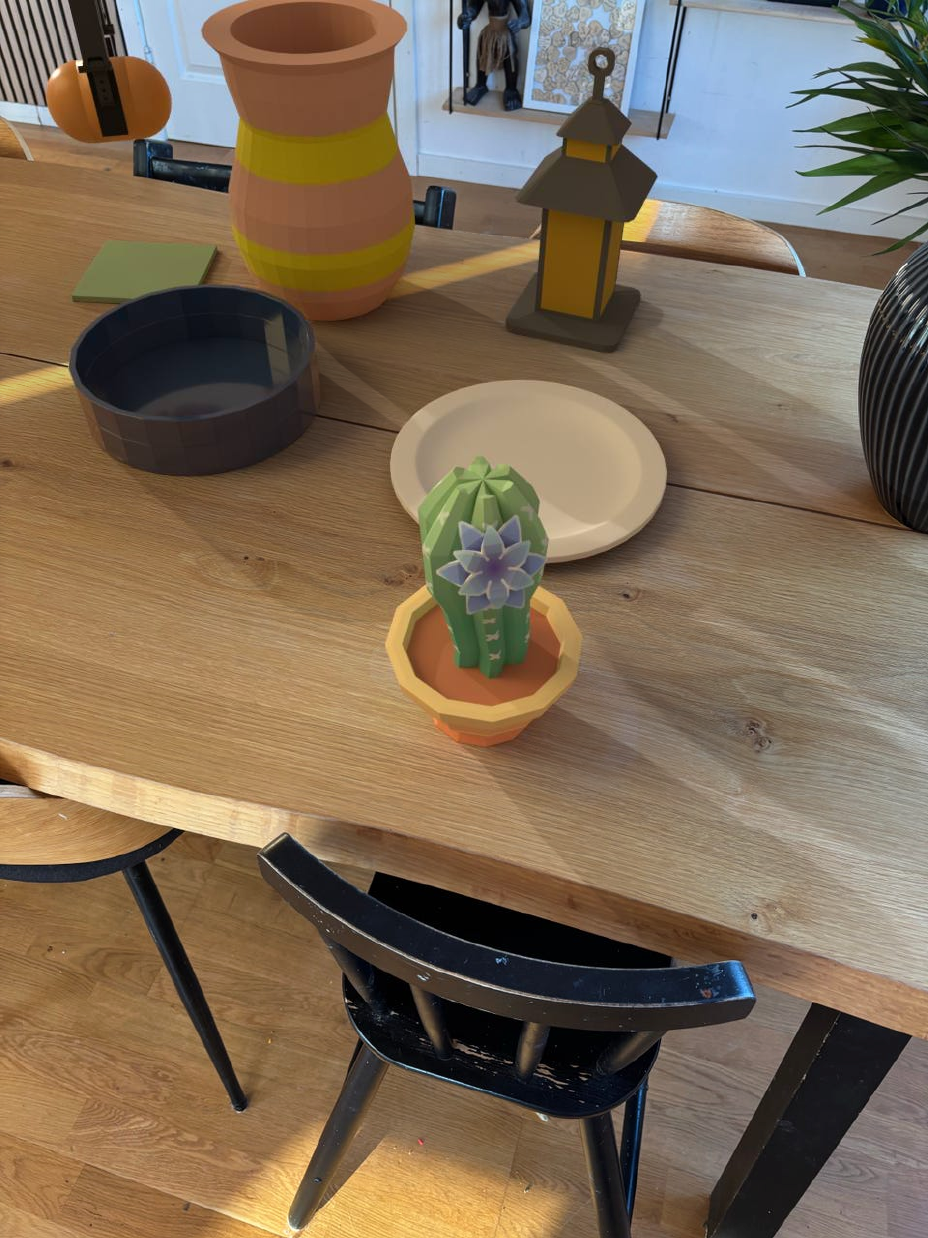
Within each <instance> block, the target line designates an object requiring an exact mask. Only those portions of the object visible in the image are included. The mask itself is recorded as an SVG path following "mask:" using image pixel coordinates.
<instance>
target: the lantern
mask: <svg viewBox="0 0 928 1238" xmlns="http://www.w3.org/2000/svg"><path fill="white" fill-rule="evenodd" d="M598 56H603V58H604V57H605V59H606V62H607V66H606V67H600V66H599V65H598V64H597V60H596V59H597V57H598ZM616 56H617V55H616V53H615V52H614V51H613V50H612V49H611V48H610V47H607V46H606V47H605V46H598V47H595V48H594V49H593V50H592V51H591V52H590V53H589V54H588V59H587V60H588V61H587V71H588V73H589V74H590V75H591V76H593V85H592V94H591V96H589V97H588V98H587V99H586V100H585V101H583V102H582V103H581V104H580V105H579V106H578V107H577V108H576V109H574V110H573V111H572V112H571V113H570V114H569V115H568V116H567V118H566V119H565V121H564V122H563V123H562V125H561V126H560V128H559V129H558V130H557V131H556V133H555V136H556V137H558V138H562V145H561V146H559V147H557V148H556V149H554V150H553V151H552V152H550V153H549V154H546V156H544V157H543V159H542V160H541V162H540V163H539V165H538V166H537V167H536V168H535V170H533V172H532V174H531V175H530V177H529V178H528V179H527V180H526V182H525V183H524V185H523V186H522V187H521V188H520V190H519V191H518V193H517V194H516V195H515V197H514V198H515V201H516V203H519V204H520V205H524V206H528V207H535V208H539V209H540V208H541V209H542V211H541V224H540V236H539V250H538V261H537V271H536V272H534V273H533V275H532V277H531V278H530V280H529V281H528V283H527V284H526V286H525V288H524V289H523V290H522V292H521V294H520V295H519V297H518V299H517V300H516V302H515V303H514V305H513V307H512V308H511V310H510V311H509V313H508V314H507V316H506V318H505V328H506V331H508V332H510V333H512V334H517V335H521V336H524V337H525V336H526V337H530V338H535V339H540V340H543V341H549V342H553V343H556V344H562V345H566V346H570V347H571V346H572V347H576V348H580V349H584V350H588V351H589V350H590V351H593V352H599V353H607V354H609V353H613V352H615V351H617V350H618V348H619V346H620V344H621V343H622V340H623V339H624V335H625V333H626V331H627V329H628V327H629V325H630V323H631V321H632V319H633V317H634V316H635V315H634V314H635V313H636V311H637V308H638V306H639V305H640V303H641V297H642V294H641V292H640V290H639V289H637V288H635V287H631V286H628V285H627V286H626V285H623V284H616V283H617V278H618V271H619V264H620V257H621V250H622V244H623V236H624V228H625V223H627V224H628V223H631V222H633V221H635V220H636V218H637V216H638V214H639V212H640V211H641V209H642V207H643V205H644V204H645V202H646V200H647V198H648V195H649V194H650V192H651V191H652V188H653V187H654V185H655V183H656V181H657V179H658V178H659V177H658V174H657V172H656V171H654V170H653V169H652V168H651V167H650V166H649V165H648V164H647V163H645V162H644V161H642V160H641V159H640V158H639V156H637V155H636V154H634V153H633V152H632V151H631V150H630V149H628V147H626V146H625V145H624V144H623V139H624V137H625V135H626V134H627V133H628V131H629V129H630V128H631V126H632V125H633V123H632V121H631V120H630V119H629V118H628V117H627V116H626V115H625V114H624V113H623V112H622V111H621V110H620V109H619V108H618V107H617V106H616V104H615V103H613V101H611V100H610V99H609V98H606V97H604V93H605V85H606V78H607V77H610V76H611V74H612V73H613V71H614V69H615V65H616Z"/></svg>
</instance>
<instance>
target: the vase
mask: <svg viewBox="0 0 928 1238" xmlns="http://www.w3.org/2000/svg"><path fill="white" fill-rule="evenodd" d="M200 31H201V37H202V39H203V40H204V42H206V44H207V45H208V46H209V47H211V49H212V50H214V51H215V53H217V54H218V56H219V60H220V64H221V68H222V72H223V76H224V80H225V83H226V85H227V88H228V90H229V93H230V94H229V95H230V96H231V99H232V102H233V104H234V107H235V110H236V112H237V114H238V117H239V119H238V126H237V133H236V141H235V148H234V157H233V162H232V167H231V172H230V173H231V174H230V177H229V183H228V197H229V198H228V199H229V206H230V207H229V208H230V218H231V229H232V234H233V238H234V241H235V243H236V245H237V248H238V250H239V252H240V255H241V257H242V259H243V261H244V264H245V266H246V268H247V270H248V272H249V275H250V276H251V278H252V280H253V281H254V283H256V285H257V287H259V288H260V289H261V291H264V292H267V293H269V294H271V295H274V296H276V297H279V298H281V299H284V300H286V301H287V302H288V303H290V304H291V305H292V306H294V307H295V308H297V309H298V310H299V311H301V312H302V313H303V315H304V316H305V318H306V319H307V321H308V320H309V321H318V322H335V321H344V320H349V319H354V318H359V317H361V316H363V315H366V314H369V313H370V312H372V311H374V310H375V309H378V308H379V307H380V306H381V305H382V304H383V303H385V302H386V300H387V299H388V298H389V296H390V294H391V293H392V292H393V289H394V288H395V287H396V285H397V284H398V282H399V280H400V279H401V277H402V275H403V274H404V272H405V269H406V267H407V264H408V260H409V256H410V250H411V246H412V242H413V237H414V234H415V233H414V232H415V230H416V229H415V228H416V219H415V217H416V216H415V208H414V207H415V206H414V198H413V197H414V195H413V187H412V178H411V175H410V173H409V170H408V167H407V165H406V163H405V160H404V157H403V154H402V152H401V150H400V146H399V144H398V140H397V137H396V135H395V132H394V128H393V125H392V122H391V119H390V116H389V113H388V107H389V102H390V97H391V89H392V83H393V78H394V69H395V68H394V67H395V53H396V52H395V51H396V46H397V45H398V44H399V43H400V42H401V40H402V39H404V36H405V35H406V33H407V32H408V22H407V21H406V19H405V16H403V14H401V13H400V12H399V11H397V10H396V9H394V8H393V7H391V6H389V5H387V4H384V3H381V2H378V1H375V0H244V1H241V2H237V3H234V4H232V5H228V6H226V7H225V8H222V9H219V10H218V11H216V12H214V13H213V14H211V15H210V16H209V17H208V18H207V19H206V20H205V21H204V22H203V25H202V27H201V29H200Z"/></svg>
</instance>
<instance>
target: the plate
mask: <svg viewBox="0 0 928 1238" xmlns="http://www.w3.org/2000/svg"><path fill="white" fill-rule="evenodd" d="M390 452H391V453H390V459H389V471H390V480H391V484H392V487H393V490H394V492H395V496H396V498H397V499H398V501H399V502H400V504H401V506H402V508H403V509H404V510H405V512H406V513H407V514H408V515H409V516H410V517H411V518H412V519H413V520H414V521H415V522H416V524H418V525H419V516H418V507H419V506H420V504H421V503H422V502H423V500H424V499H425V498H426V496H427V495H428V494H429V493H430V491H431V490H432V489H433V488H434V487H435V486H436V485H437V484H438V483H439V482H440V481H441V480H442V479H443V478H444V477H445V476H446V475H447V474H448V473H450V472H451V471H452V470H453V469H454V468H455V467H462V468H465V469H467V470H468V469H469V468H470V466H471V464H472V463H473V461H474V459H475V458H476V457H478V456H483V457H484V458H485V459H486V460H487V461H488V462H489V464H490V466H491V469H492V470H493V469H494V468H495V467H496V466H497V465H499V464H503V463H507V464H508V465H509V466H511V467H512V468H513V469H514V470H515V471H516V472H517V473H518V474H520V475H521V476H522V477H523V478H524V479H525V480H526V481H527V482H528V483H530V484H531V485H532V486H533V488H534V490H535V492H536V494H537V496H538V498H539V500H540V504H539V511H538V517H539V518H540V520H541V522H542V525H543V527H544V529H545V531H546V534H547V536H548V538H549V543H548V548H547V554H546V557H547V562H546V563H545V564H553V563H554V564H555V563H564V562H565V563H566V562H570V561H575V560H580V559H586V558H588V557H592V556H595V555H597V554H600V553H604V552H607V551H609V550H611V549H613V548H615V547H617V546H619V545H621V544H623V543H625V542H627V541H628V540H629V539H630V538H632V537H634V536H635V535H636V534H638V533H639V532H641V530H642V529H644V527H645V526H646V525H648V523H649V522H650V521H651V520H652V519H653V518H654V516H655V515H656V513H657V511H658V510H659V508H660V506H661V504H662V502H663V501H662V500H663V498H664V495H665V492H666V489H667V476H668V469H667V463H666V458H665V455H664V452H663V451H662V448H661V445H660V443H659V441H657V439H656V438H655V436H654V435H653V433H652V432H651V430H650V429H649V428H648V427H647V426H646V425H645V424H644V422H642V420H640V419H639V418H637V417H636V416H635V415H634V414H632V413H631V412H630V411H628V409H626V408H624V407H623V406H621V405H619V404H617V403H616V402H614V401H613V400H611V399H608V398H606V397H604V396H602V395H599V394H597V393H595V392H592V391H590V390H586V389H583V388H580V387H577V386H574V385H568V384H563V383H559V382H553V381H547V380H546V381H545V380H538V379H537V380H535V379H508V380H507V379H506V380H494V381H488V382H482V383H476V384H473V385H470V386H465V387H461V388H459V389H456V390H453V391H451V392H449V393H446V394H443V395H442V396H440V397H438V398H436V399H434V400H432V401H430V402H429V403H427V404H426V405H425V406H423V407H421V408H420V409H419V410H418V411H416V412H415V413H414V414H413V415H412V416H411V417H410V418H409V419H408V420H407V421H406V422H405V423H404V425H403V426H402V428H401V429H400V431H399V432H398V434H397V436H396V438H395V440H394V443H393V445H392V448H391V451H390Z"/></svg>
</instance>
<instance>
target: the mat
mask: <svg viewBox="0 0 928 1238" xmlns="http://www.w3.org/2000/svg"><path fill="white" fill-rule="evenodd" d="M218 250H219V249H218V245H216V244H215V245H212V244H191V243H172V242H171V243H170V242H169V243H167V242H152V241H151V242H148V241H127V240H111V239H110V240H109V239H108V240H107V239H106V240H105V241H104V243H103V244H102V245H101V247H100V249H99V250H98V252H97V254H96V255H95V257H94V258H93V260H92V262H91V263H90V265H89V267H88V268H87V269H86V271H85V273H84V274H83V276H82V277H81V279H80V280H79V282H78V283H77V285H76V286H75V288H74V290H73V292H72V293H71V294H70V296H71V300H72V302H82V303H83V302H84V303H102V304H103V303H105V304H121V303H123V302H126V301H129V300H131V299H134V298H136V297H139V296H142V295H144V294H147V293H150V292H155V291H159V290H164V289H168V288H173V287H179V286H191V285H202V284H203V283H204V281H205V279H206V277H207V275H208V273H209V270H210V269H211V267H212V264H213V262H214V260H215V258H216V256H217V253H218Z"/></svg>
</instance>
